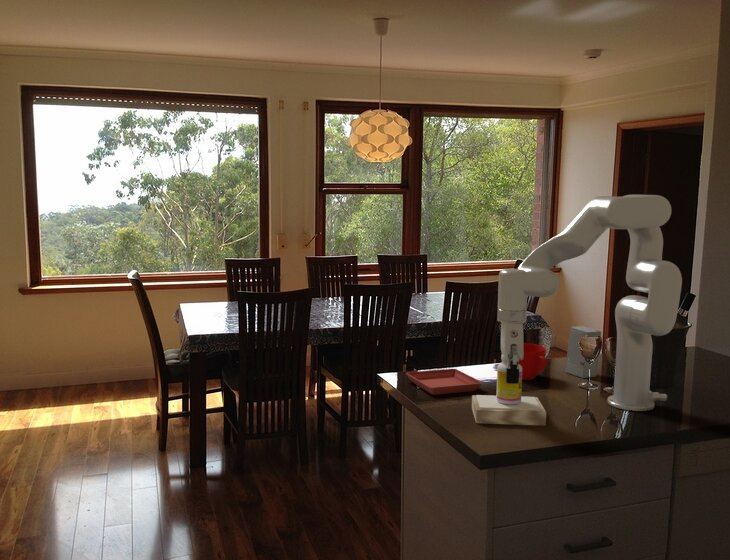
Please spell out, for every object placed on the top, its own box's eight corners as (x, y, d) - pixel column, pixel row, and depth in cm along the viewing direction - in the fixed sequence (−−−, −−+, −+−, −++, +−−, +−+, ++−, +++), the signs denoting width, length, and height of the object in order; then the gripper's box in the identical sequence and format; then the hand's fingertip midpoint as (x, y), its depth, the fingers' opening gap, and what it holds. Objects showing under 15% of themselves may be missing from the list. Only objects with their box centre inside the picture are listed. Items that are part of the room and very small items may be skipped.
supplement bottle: (521, 406, 182) (523, 358, 180) (496, 404, 183) (497, 357, 181) (520, 398, 188) (522, 352, 187) (496, 397, 189) (497, 351, 188)
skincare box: (564, 372, 231) (567, 326, 229) (580, 370, 235) (582, 325, 233) (583, 379, 224) (586, 331, 222) (599, 376, 227) (602, 329, 225)
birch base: (536, 409, 192) (537, 395, 191) (545, 425, 179) (546, 410, 178) (471, 407, 193) (472, 393, 192) (476, 423, 180) (476, 408, 179)
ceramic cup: (527, 387, 213) (529, 356, 212) (496, 373, 229) (497, 344, 227) (560, 383, 219) (562, 352, 217) (528, 370, 234) (529, 341, 233)
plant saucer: (455, 377, 225) (455, 367, 225) (483, 392, 209) (483, 382, 208) (404, 382, 219) (405, 372, 218) (430, 398, 202) (430, 387, 202)
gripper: (531, 322, 173) (529, 387, 176) (520, 310, 191) (518, 370, 193) (501, 321, 174) (499, 387, 176) (493, 309, 191) (491, 369, 193)
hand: (509, 378), depth 185 cm, fingers open, 9 cm apart
